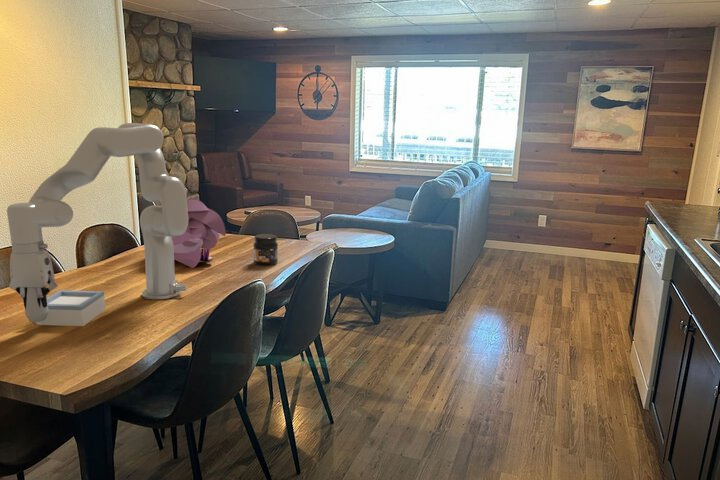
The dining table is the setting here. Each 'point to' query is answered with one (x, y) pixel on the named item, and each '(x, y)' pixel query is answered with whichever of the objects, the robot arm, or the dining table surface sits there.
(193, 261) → the flower arrangement
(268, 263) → the supplement container
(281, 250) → the dining table surface
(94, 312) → the stand
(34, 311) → the salt shaker
